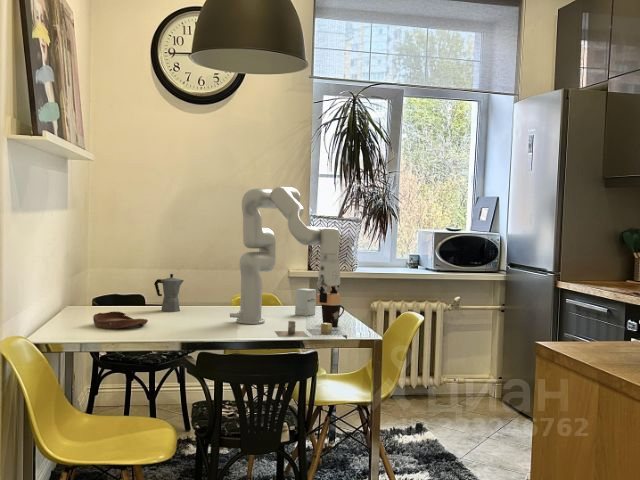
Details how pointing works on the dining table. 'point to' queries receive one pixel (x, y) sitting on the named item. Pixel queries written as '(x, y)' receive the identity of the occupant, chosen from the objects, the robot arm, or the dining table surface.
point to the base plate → (327, 330)
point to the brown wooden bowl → (116, 320)
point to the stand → (291, 331)
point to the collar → (330, 299)
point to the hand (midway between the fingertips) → (328, 301)
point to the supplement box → (305, 302)
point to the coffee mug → (331, 314)
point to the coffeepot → (169, 293)
